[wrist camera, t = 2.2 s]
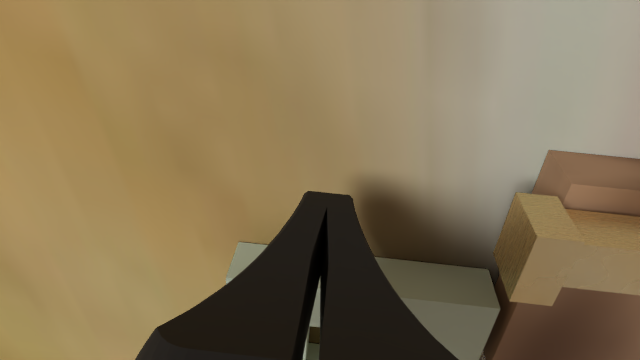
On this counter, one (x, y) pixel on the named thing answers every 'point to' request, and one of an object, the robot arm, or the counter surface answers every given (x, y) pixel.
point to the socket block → (571, 303)
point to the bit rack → (421, 300)
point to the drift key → (565, 250)
